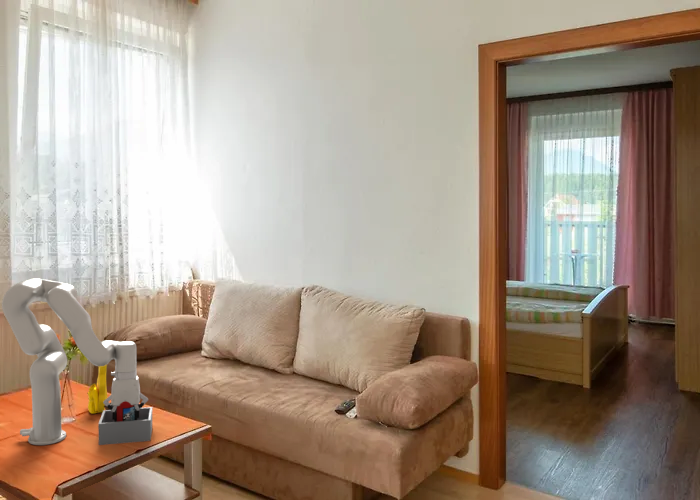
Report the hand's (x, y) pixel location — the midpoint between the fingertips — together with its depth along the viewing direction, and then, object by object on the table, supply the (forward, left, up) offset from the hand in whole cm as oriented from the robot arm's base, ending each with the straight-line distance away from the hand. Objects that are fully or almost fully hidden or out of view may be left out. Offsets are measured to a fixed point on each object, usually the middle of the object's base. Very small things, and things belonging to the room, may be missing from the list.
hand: (126, 420), depth 223 cm
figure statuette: (-14, +29, -6) cm, 33 cm away
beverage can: (0, 0, -3) cm, 3 cm away
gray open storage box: (0, 0, -6) cm, 6 cm away
